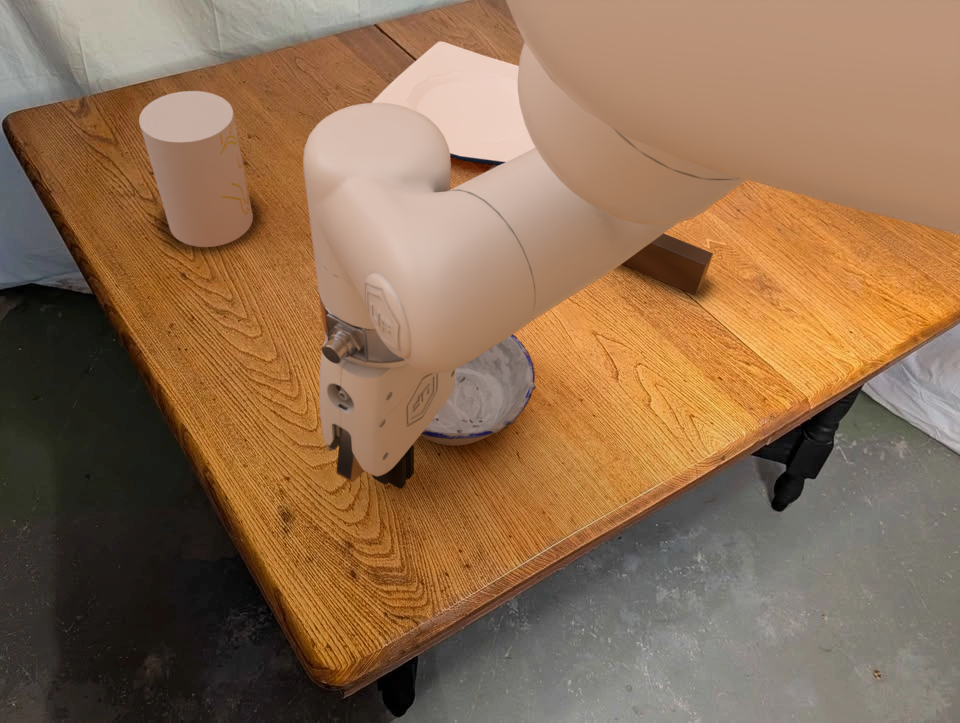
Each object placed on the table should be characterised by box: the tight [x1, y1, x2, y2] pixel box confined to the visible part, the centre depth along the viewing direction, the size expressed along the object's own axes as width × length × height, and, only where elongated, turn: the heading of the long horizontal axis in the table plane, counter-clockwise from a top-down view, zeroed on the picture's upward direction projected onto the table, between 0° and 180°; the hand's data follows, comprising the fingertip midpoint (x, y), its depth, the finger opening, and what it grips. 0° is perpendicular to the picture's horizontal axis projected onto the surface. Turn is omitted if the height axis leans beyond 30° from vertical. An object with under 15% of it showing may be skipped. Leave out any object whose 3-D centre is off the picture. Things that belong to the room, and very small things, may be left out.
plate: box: [371, 41, 535, 167], centre depth 99 cm, size 20×20×3 cm
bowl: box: [420, 334, 537, 447], centre depth 70 cm, size 13×13×5 cm
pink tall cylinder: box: [138, 90, 254, 248], centre depth 81 cm, size 8×8×12 cm
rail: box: [487, 165, 714, 296], centre depth 84 cm, size 24×2×4 cm, turn 59°
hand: (391, 473), depth 65 cm, fingers closed
